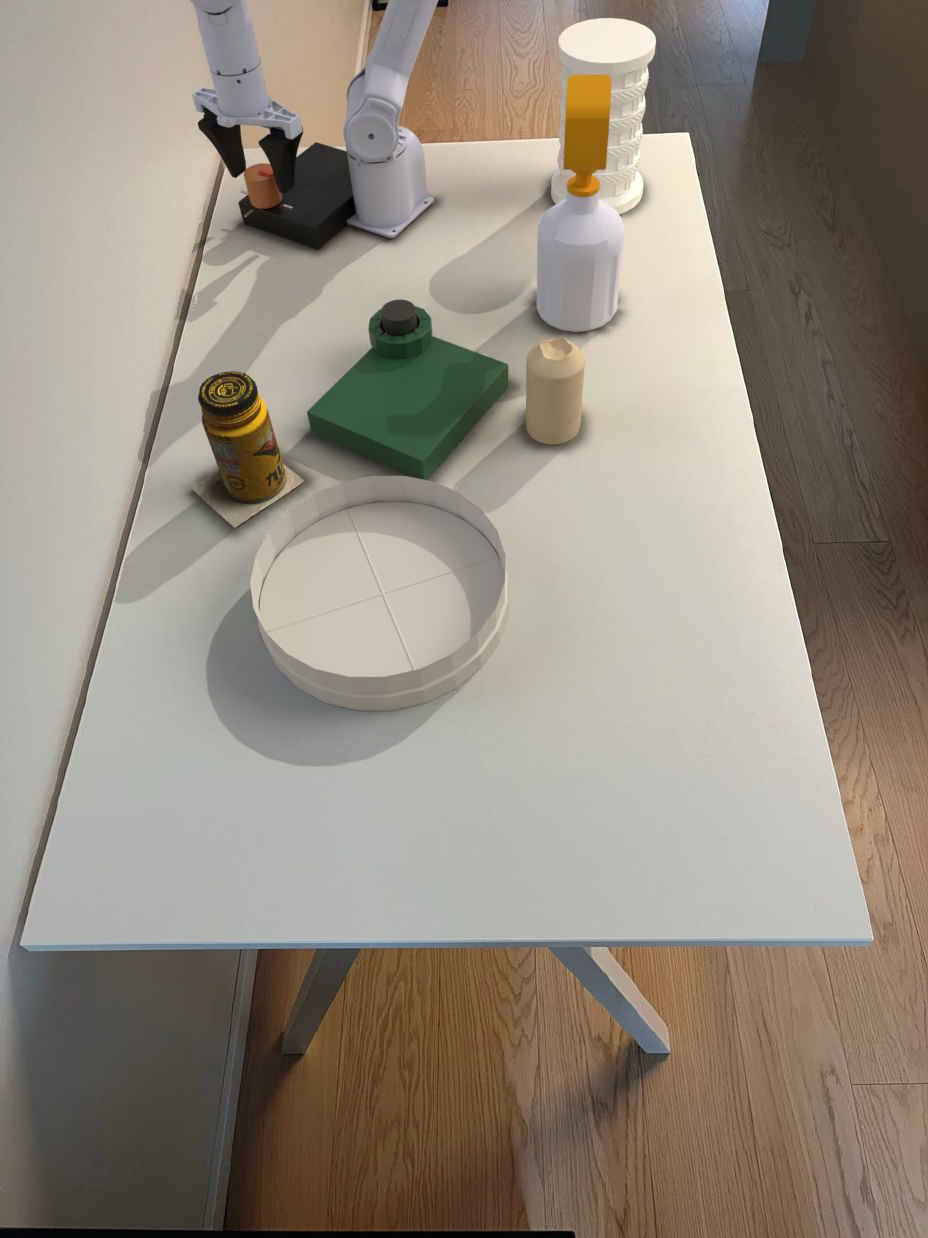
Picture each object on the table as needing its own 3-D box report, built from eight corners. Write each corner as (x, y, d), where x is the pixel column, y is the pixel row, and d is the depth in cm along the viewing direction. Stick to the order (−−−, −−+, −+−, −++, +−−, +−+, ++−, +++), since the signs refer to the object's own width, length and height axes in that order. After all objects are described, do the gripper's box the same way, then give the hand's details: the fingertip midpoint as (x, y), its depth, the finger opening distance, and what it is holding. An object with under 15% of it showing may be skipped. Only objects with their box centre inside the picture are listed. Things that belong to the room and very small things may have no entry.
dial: (243, 203, 118) (236, 173, 114) (264, 187, 120) (257, 157, 116) (268, 212, 116) (261, 181, 113) (289, 195, 118) (282, 165, 115)
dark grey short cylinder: (395, 311, 101) (393, 295, 100) (423, 321, 100) (422, 305, 98) (376, 330, 100) (373, 314, 98) (404, 341, 98) (402, 324, 97)
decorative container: (634, 163, 124) (649, 12, 109) (649, 213, 117) (668, 59, 103) (545, 170, 124) (549, 20, 109) (556, 221, 117) (561, 68, 103)
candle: (516, 435, 96) (516, 355, 88) (539, 401, 99) (541, 321, 91) (566, 452, 94) (571, 372, 86) (588, 417, 97) (595, 336, 89)
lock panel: (313, 161, 128) (309, 138, 126) (392, 186, 124) (389, 162, 121) (226, 230, 120) (219, 206, 117) (307, 259, 115) (303, 235, 113)
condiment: (304, 481, 94) (279, 387, 84) (235, 529, 91) (200, 436, 81) (260, 445, 97) (231, 350, 87) (192, 490, 94) (153, 396, 84)
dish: (236, 551, 89) (222, 516, 85) (457, 483, 93) (454, 446, 88) (296, 748, 76) (284, 718, 72) (549, 660, 80) (550, 626, 76)
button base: (396, 335, 106) (392, 297, 102) (514, 379, 101) (514, 341, 97) (302, 429, 98) (292, 392, 94) (425, 483, 93) (420, 445, 89)
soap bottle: (616, 284, 110) (638, 58, 90) (616, 335, 104) (638, 107, 84) (538, 282, 110) (542, 59, 90) (534, 333, 105) (537, 107, 85)
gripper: (162, 65, 106) (196, 182, 117) (262, 93, 100) (289, 213, 112) (204, 38, 109) (233, 154, 120) (303, 64, 104) (325, 183, 115)
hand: (262, 181), depth 116 cm, fingers open, 7 cm apart
